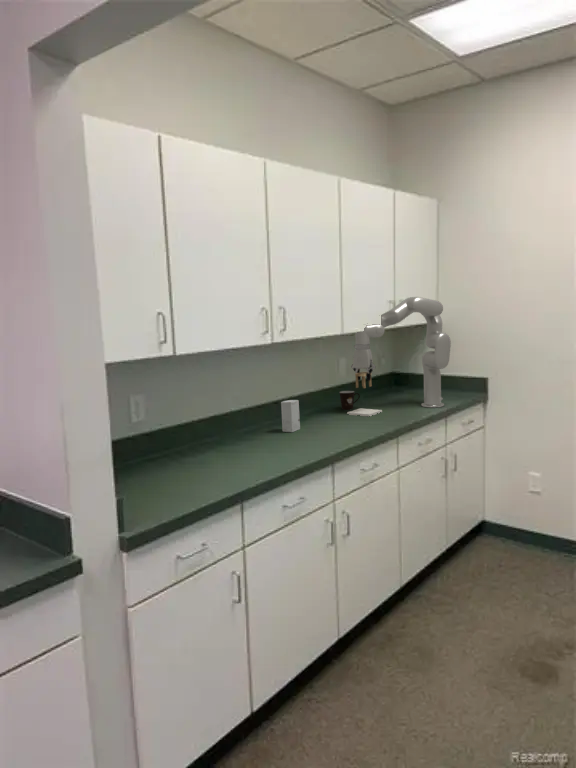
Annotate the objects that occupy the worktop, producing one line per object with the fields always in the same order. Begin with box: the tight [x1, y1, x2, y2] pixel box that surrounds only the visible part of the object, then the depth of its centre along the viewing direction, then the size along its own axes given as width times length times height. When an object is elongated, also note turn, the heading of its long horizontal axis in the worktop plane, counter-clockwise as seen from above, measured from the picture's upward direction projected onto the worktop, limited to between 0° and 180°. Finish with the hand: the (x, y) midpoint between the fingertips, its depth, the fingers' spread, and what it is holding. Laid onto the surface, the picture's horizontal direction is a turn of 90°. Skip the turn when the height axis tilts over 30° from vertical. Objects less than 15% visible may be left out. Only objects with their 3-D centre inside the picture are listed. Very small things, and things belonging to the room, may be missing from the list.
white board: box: [346, 408, 383, 417], centre depth 325 cm, size 14×14×1 cm
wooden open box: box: [354, 371, 373, 389], centre depth 322 cm, size 6×8×8 cm
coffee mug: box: [339, 390, 361, 411], centre depth 340 cm, size 12×9×10 cm
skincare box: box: [280, 399, 301, 433], centre depth 288 cm, size 8×6×15 cm
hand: (363, 380), depth 322 cm, fingers closed on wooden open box, 5 cm apart
